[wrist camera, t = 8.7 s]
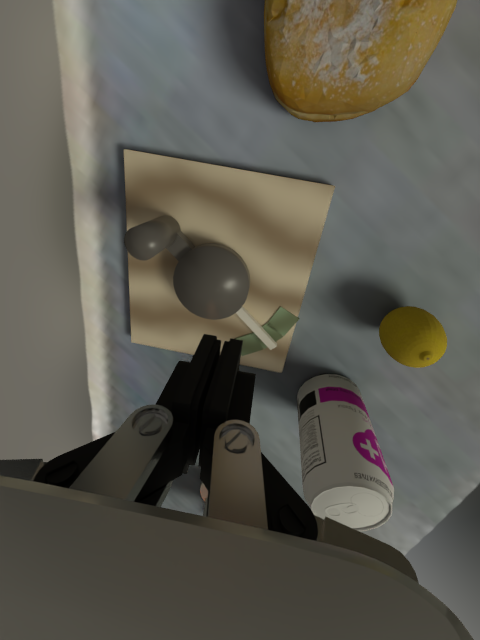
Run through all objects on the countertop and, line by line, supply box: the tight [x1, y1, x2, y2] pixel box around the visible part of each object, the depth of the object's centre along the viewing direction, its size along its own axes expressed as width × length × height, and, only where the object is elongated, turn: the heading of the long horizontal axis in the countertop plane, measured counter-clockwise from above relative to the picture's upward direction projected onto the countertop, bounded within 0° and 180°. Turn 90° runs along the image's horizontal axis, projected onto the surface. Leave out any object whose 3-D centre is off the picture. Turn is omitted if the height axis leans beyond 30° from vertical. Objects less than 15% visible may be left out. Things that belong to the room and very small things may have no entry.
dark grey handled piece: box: [124, 215, 277, 350], centre depth 29 cm, size 19×8×6 cm, turn 42°
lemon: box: [379, 306, 447, 367], centre depth 29 cm, size 6×6×8 cm
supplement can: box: [297, 374, 394, 531], centre depth 32 cm, size 8×8×15 cm
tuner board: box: [124, 149, 335, 373], centre depth 32 cm, size 22×20×1 cm
